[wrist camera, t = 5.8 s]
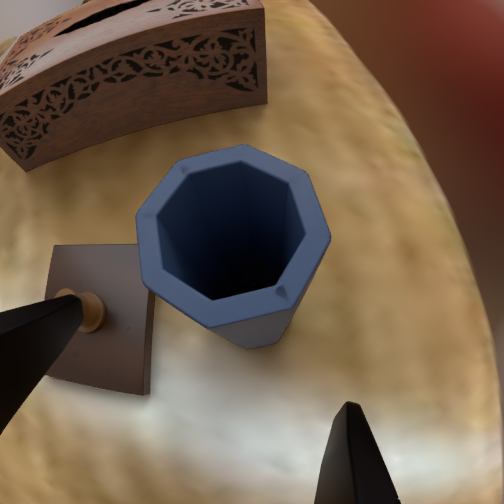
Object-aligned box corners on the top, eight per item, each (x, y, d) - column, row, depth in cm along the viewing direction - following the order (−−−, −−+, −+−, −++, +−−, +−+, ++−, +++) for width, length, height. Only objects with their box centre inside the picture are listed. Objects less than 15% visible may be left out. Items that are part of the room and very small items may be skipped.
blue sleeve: (298, 337, 19) (351, 292, 7) (226, 354, 19) (149, 340, 6) (279, 269, 20) (292, 133, 8) (211, 285, 20) (132, 172, 8)
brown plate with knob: (150, 394, 18) (122, 400, 14) (47, 373, 18) (11, 371, 15) (160, 249, 21) (138, 225, 17) (62, 250, 22) (31, 229, 18)
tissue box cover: (25, 171, 25) (-29, 115, 16) (52, 88, 30) (20, 36, 21) (267, 103, 26) (264, 7, 16) (241, 32, 31) (234, -37, 21)
